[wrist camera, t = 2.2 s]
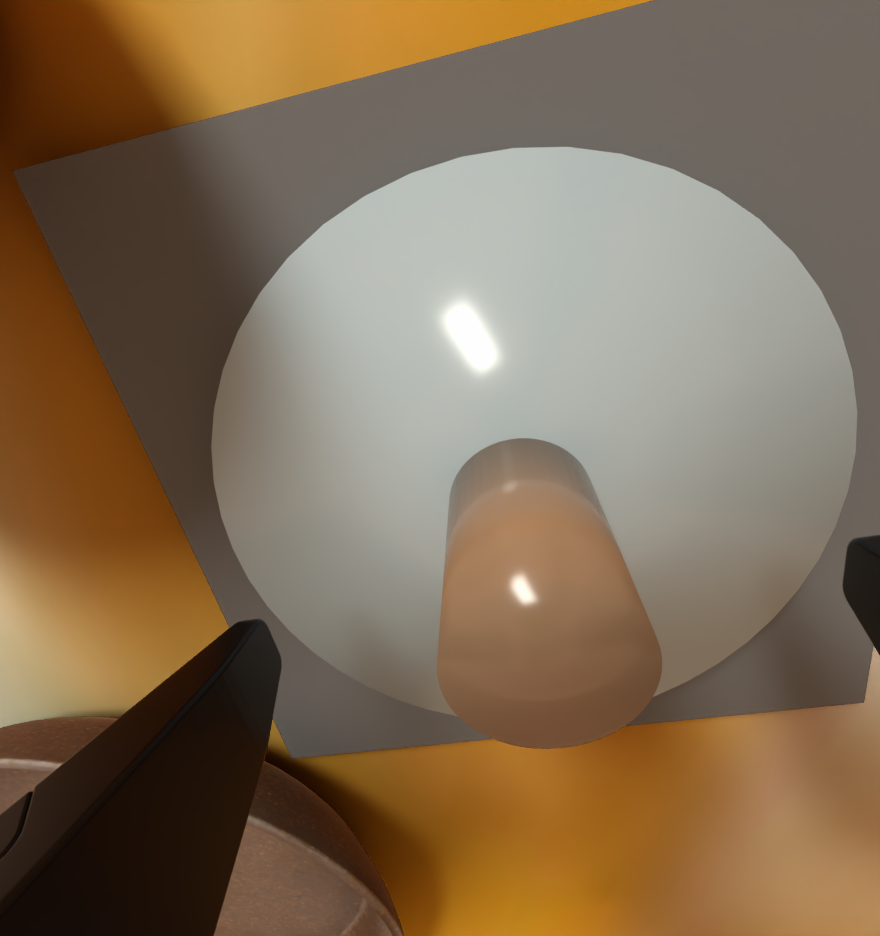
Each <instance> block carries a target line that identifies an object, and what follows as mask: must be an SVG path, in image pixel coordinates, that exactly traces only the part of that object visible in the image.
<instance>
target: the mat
mask: <svg viewBox="0 0 880 936" xmlns="http://www.w3.org/2000/svg"><path fill="white" fill-rule="evenodd" d="M534 147H574V148H581V149H589V150H596V151H604V152H611V153H619V154H624V155H627V156H631V157H634V158H637V159H641V160H644V161H648V162H651V163H654V164H658V165H661V166H665V167H668V168H671V169H674V170H676V171H678V172H680V173H682V174H684V175H687V176H689V177H691V178H693V179H695V180H697V181H699V182H701V183H703V184H705V185H708V186H710V187H712V188H714V189H716V190H718V191H720V192H721V193H723V194H724V195H725V196H727V197H728V198H730V199H731V200H733V201H734V202H736V203H737V204H738V205H740V206H741V207H743V208H744V209H746V210H747V211H748V212H750V213H751V214H753V215H754V216H756V217H757V218H759V219H760V220H761V221H762V222H763V223H764V224H765V225H766V226H767V227H768V228H769V229H770V230H771V231H772V232H773V233H774V234H775V235H776V236H777V237H778V238H779V239H780V240H781V241H782V242H783V243H784V244H785V245H786V246H788V247H789V248H790V249H791V250H792V251H793V252H794V254H795V255H796V256H797V258H798V259H799V261H800V262H801V263H802V265H803V266H804V267H805V269H806V270H807V272H808V273H809V274H810V276H811V277H812V278H813V280H814V281H815V283H816V284H817V285H818V287H819V288H820V290H821V291H822V293H823V295H824V297H825V299H826V302H827V304H828V306H829V308H830V310H831V312H832V314H833V316H834V318H835V320H836V322H837V324H838V326H839V328H840V330H841V334H842V337H843V341H844V344H845V347H846V351H847V354H848V358H849V361H850V364H851V368H852V372H853V380H854V388H855V397H856V405H857V433H856V453H855V458H854V463H853V469H852V474H851V479H850V484H849V489H848V493H847V495H846V498H845V501H844V504H843V507H842V510H841V513H840V515H839V518H838V521H837V524H836V527H835V529H834V531H833V533H832V535H831V537H830V539H829V541H828V542H827V544H826V546H825V548H824V550H823V552H822V554H821V556H820V558H819V560H818V562H817V563H816V565H815V566H814V567H813V569H812V570H811V572H810V573H809V575H808V576H807V578H806V579H805V581H804V582H803V584H802V585H801V587H800V588H799V589H798V591H797V592H796V593H795V594H794V595H793V597H792V598H791V599H790V600H789V601H788V602H787V603H786V605H785V606H784V607H783V608H782V609H781V610H780V611H779V613H778V614H777V615H776V616H775V617H774V618H773V619H772V620H771V621H770V622H769V623H768V624H767V625H766V626H765V627H763V628H762V629H761V630H760V631H759V632H758V633H757V634H756V635H755V636H754V637H752V638H751V639H750V640H749V641H748V642H747V643H746V644H744V645H743V646H741V647H740V648H739V649H737V650H736V651H735V652H733V653H732V654H731V655H729V656H728V657H726V658H725V659H724V660H722V661H721V662H720V663H718V664H717V665H715V666H713V667H711V668H710V669H708V670H706V671H705V672H703V673H701V674H699V675H698V676H696V677H694V678H693V679H691V680H689V681H687V682H685V683H683V684H681V685H679V686H676V687H674V688H672V689H670V690H668V691H665V692H663V693H661V694H659V695H657V696H654V697H652V699H651V701H650V702H649V703H648V705H647V706H646V707H645V708H644V710H643V711H642V712H641V713H640V714H639V715H638V716H637V717H635V718H634V719H633V720H632V721H631V722H629V723H628V724H627V725H625V726H630V725H640V724H650V723H660V722H671V721H681V720H691V719H701V718H711V717H722V716H732V715H742V714H752V713H762V712H773V711H783V710H793V709H803V708H813V707H824V706H834V705H844V704H854V703H864V699H865V693H866V687H867V681H868V675H869V669H870V663H871V657H872V651H873V643H872V642H871V640H870V638H869V637H868V635H867V633H866V632H865V630H864V629H863V627H862V625H861V624H860V622H859V620H858V619H857V617H856V615H855V614H854V612H853V610H852V609H851V607H850V605H849V604H848V602H847V600H846V598H845V595H844V592H843V586H842V582H843V574H844V566H845V558H846V551H847V546H848V544H849V542H850V541H851V540H852V539H854V538H858V537H865V536H873V535H880V0H653V1H650V2H646V3H642V4H638V5H634V6H631V7H627V8H623V9H619V10H616V11H612V12H608V13H604V14H601V15H597V16H593V17H589V18H585V19H582V20H578V21H574V22H570V23H567V24H563V25H559V26H555V27H552V28H548V29H544V30H540V31H537V32H533V33H529V34H525V35H521V36H518V37H514V38H510V39H506V40H503V41H499V42H495V43H491V44H488V45H484V46H480V47H476V48H472V49H469V50H465V51H461V52H457V53H454V54H450V55H446V56H442V57H439V58H435V59H431V60H427V61H424V62H420V63H416V64H412V65H408V66H405V67H401V68H397V69H393V70H390V71H386V72H382V73H378V74H375V75H371V76H367V77H363V78H359V79H356V80H352V81H348V82H344V83H341V84H337V85H333V86H329V87H326V88H322V89H318V90H314V91H311V92H307V93H303V94H299V95H295V96H292V97H288V98H284V99H280V100H277V101H273V102H269V103H265V104H262V105H258V106H254V107H250V108H246V109H243V110H239V111H235V112H231V113H228V114H224V115H220V116H216V117H213V118H209V119H205V120H201V121H198V122H194V123H190V124H186V125H182V126H179V127H175V128H171V129H167V130H164V131H160V132H156V133H152V134H149V135H145V136H141V137H137V138H134V139H130V140H126V141H122V142H118V143H115V144H111V145H107V146H103V147H100V148H96V149H92V150H88V151H85V152H81V153H77V154H73V155H69V156H66V157H62V158H58V159H54V160H51V161H47V162H43V163H39V164H36V165H32V166H28V167H24V168H21V169H17V170H13V171H12V172H13V174H14V176H15V178H16V180H17V182H18V184H19V186H20V189H21V191H22V193H23V195H24V197H25V199H26V201H27V203H28V205H29V207H30V210H31V212H32V214H33V216H34V218H35V220H36V222H37V224H38V226H39V228H40V231H41V233H42V235H43V237H44V239H45V241H46V243H47V245H48V247H49V249H50V252H51V254H52V256H53V258H54V260H55V262H56V264H57V266H58V268H59V270H60V273H61V275H62V277H63V279H64V281H65V283H66V285H67V287H68V289H69V291H70V294H71V296H72V298H73V300H74V302H75V304H76V306H77V308H78V310H79V312H80V315H81V317H82V319H83V321H84V323H85V325H86V327H87V329H88V331H89V333H90V336H91V338H92V340H93V342H94V344H95V346H96V348H97V350H98V352H99V354H100V356H101V359H102V361H103V363H104V365H105V367H106V369H107V371H108V373H109V375H110V377H111V380H112V382H113V384H114V386H115V388H116V390H117V392H118V394H119V396H120V398H121V401H122V403H123V405H124V407H125V409H126V411H127V413H128V415H129V417H130V419H131V422H132V424H133V426H134V428H135V430H136V432H137V434H138V436H139V438H140V440H141V443H142V445H143V447H144V449H145V451H146V453H147V455H148V457H149V459H150V461H151V464H152V466H153V468H154V470H155V472H156V474H157V476H158V478H159V480H160V482H161V485H162V487H163V489H164V491H165V493H166V495H167V497H168V499H169V501H170V503H171V506H172V508H173V510H174V512H175V514H176V516H177V518H178V520H179V522H180V524H181V527H182V529H183V531H184V533H185V535H186V537H187V539H188V541H189V543H190V545H191V548H192V550H193V552H194V554H195V556H196V558H197V560H198V562H199V564H200V566H201V569H202V571H203V573H204V575H205V577H206V579H207V581H208V583H209V585H210V587H211V590H212V592H213V594H214V596H215V598H216V600H217V602H218V604H219V606H220V608H221V611H222V613H223V615H224V617H225V619H226V621H227V623H228V625H229V627H232V626H233V625H234V624H235V623H237V622H239V621H243V620H250V619H258V618H259V619H262V620H264V621H265V622H266V623H267V625H268V627H269V630H270V632H271V634H272V636H273V639H274V641H275V643H276V646H277V648H278V650H279V652H280V655H281V661H282V669H281V675H280V680H279V686H278V691H277V697H276V702H275V708H274V714H273V720H274V722H275V724H276V726H277V728H278V730H279V732H280V734H281V737H282V739H283V741H284V743H285V745H286V747H287V749H288V751H289V753H290V755H291V758H292V759H293V758H304V757H314V756H324V755H334V754H344V753H355V752H365V751H375V750H385V749H395V748H406V747H416V746H426V745H436V744H446V743H457V742H467V741H477V740H487V739H492V738H490V737H488V736H485V735H483V734H482V733H480V732H478V731H476V730H475V729H473V728H472V727H470V726H469V725H467V724H466V723H465V722H463V721H462V720H461V719H460V718H459V717H458V716H454V715H450V714H445V713H441V712H436V711H432V710H427V709H424V708H421V707H418V706H415V705H412V704H409V703H406V702H403V701H400V700H397V699H394V698H392V697H390V696H388V695H385V694H383V693H381V692H378V691H376V690H374V689H371V688H369V687H367V686H365V685H364V684H362V683H360V682H358V681H356V680H355V679H353V678H351V677H349V676H348V675H346V674H344V673H342V672H340V671H339V670H337V669H336V668H335V667H333V666H332V665H330V664H329V663H328V662H326V661H325V660H323V659H322V658H321V657H319V656H318V655H316V654H315V653H314V652H312V651H311V650H310V649H309V648H308V647H307V646H306V645H305V644H303V643H302V642H301V641H300V640H299V639H298V638H297V637H296V636H294V635H293V634H292V633H291V632H290V631H289V630H288V629H287V628H286V627H285V626H284V624H283V623H282V622H281V621H280V620H279V619H278V618H277V617H276V615H275V614H274V613H273V612H272V611H271V610H270V609H269V608H268V606H267V605H266V604H265V602H264V601H263V599H262V598H261V596H260V595H259V594H258V592H257V591H256V589H255V588H254V586H253V585H252V583H251V582H250V581H249V579H248V577H247V575H246V573H245V571H244V570H243V568H242V566H241V564H240V562H239V560H238V558H237V556H236V554H235V552H234V550H233V548H232V545H231V543H230V540H229V537H228V534H227V532H226V529H225V526H224V523H223V521H222V518H221V514H220V509H219V504H218V500H217V495H216V490H215V486H214V478H213V464H212V450H211V443H212V430H213V416H214V407H215V402H216V398H217V393H218V389H219V385H220V380H221V376H222V371H223V368H224V366H225V363H226V360H227V358H228V355H229V353H230V350H231V348H232V345H233V342H234V340H235V337H236V335H237V332H238V330H239V328H240V327H241V325H242V323H243V321H244V320H245V318H246V316H247V314H248V313H249V311H250V309H251V307H252V306H253V304H254V302H255V301H256V299H257V297H258V295H259V294H260V292H261V291H262V290H263V288H264V287H265V286H266V285H267V283H268V282H269V281H270V280H271V278H272V277H273V276H274V275H275V273H276V272H277V271H278V270H279V268H280V267H281V266H282V264H283V263H284V262H285V261H286V259H287V258H288V257H289V256H290V255H291V254H292V253H293V252H294V251H296V250H297V249H298V248H299V247H300V246H301V245H302V244H303V243H304V242H305V241H306V240H307V239H308V238H309V237H310V236H312V235H313V234H314V233H315V232H316V231H317V230H318V229H319V228H320V227H321V226H322V225H323V224H325V223H326V222H328V221H329V220H331V219H332V218H333V217H335V216H336V215H338V214H339V213H341V212H342V211H344V210H345V209H346V208H348V207H349V206H351V205H352V204H354V203H355V202H357V201H358V200H359V199H361V198H362V197H364V196H366V195H368V194H370V193H372V192H374V191H376V190H378V189H380V188H382V187H384V186H386V185H388V184H390V183H392V182H394V181H396V180H398V179H400V178H402V177H404V176H406V175H408V174H410V173H413V172H416V171H419V170H422V169H425V168H428V167H431V166H434V165H438V164H441V163H444V162H447V161H450V160H453V159H456V158H459V157H463V156H469V155H475V154H481V153H487V152H493V151H499V150H505V149H511V148H534Z"/></svg>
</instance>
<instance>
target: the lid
mask: <svg viewBox="0 0 880 936" xmlns="http://www.w3.org/2000/svg"><path fill="white" fill-rule="evenodd" d="M856 433H857V405H856V397H855V388H854V380H853V372H852V368H851V364H850V361H849V358H848V354H847V351H846V347H845V344H844V341H843V337H842V334H841V330H840V328H839V326H838V324H837V322H836V320H835V318H834V316H833V314H832V312H831V310H830V308H829V306H828V304H827V302H826V299H825V297H824V295H823V293H822V291H821V290H820V288H819V287H818V285H817V284H816V283H815V281H814V280H813V278H812V277H811V276H810V274H809V273H808V272H807V270H806V269H805V267H804V266H803V265H802V263H801V262H800V261H799V259H798V258H797V256H796V255H795V254H794V252H793V251H792V250H791V249H790V248H789V247H788V246H786V245H785V244H784V243H783V242H782V241H781V240H780V239H779V238H778V237H777V236H776V235H775V234H774V233H773V232H772V231H771V230H770V229H769V228H768V227H767V226H766V225H765V224H764V223H763V222H762V221H761V220H760V219H759V218H757V217H756V216H754V215H753V214H751V213H750V212H748V211H747V210H746V209H744V208H743V207H741V206H740V205H738V204H737V203H736V202H734V201H733V200H731V199H730V198H728V197H727V196H725V195H724V194H723V193H721V192H720V191H718V190H716V189H714V188H712V187H710V186H708V185H705V184H703V183H701V182H699V181H697V180H695V179H693V178H691V177H689V176H687V175H684V174H682V173H680V172H678V171H676V170H674V169H671V168H668V167H665V166H661V165H658V164H654V163H651V162H648V161H644V160H641V159H637V158H634V157H631V156H627V155H624V154H619V153H611V152H604V151H596V150H589V149H581V148H574V147H534V148H511V149H505V150H499V151H493V152H487V153H481V154H475V155H469V156H463V157H459V158H456V159H453V160H450V161H447V162H444V163H441V164H438V165H434V166H431V167H428V168H425V169H422V170H419V171H416V172H413V173H410V174H408V175H406V176H404V177H402V178H400V179H398V180H396V181H394V182H392V183H390V184H388V185H386V186H384V187H382V188H380V189H378V190H376V191H374V192H372V193H370V194H368V195H366V196H364V197H362V198H361V199H359V200H358V201H357V202H355V203H354V204H352V205H351V206H349V207H348V208H346V209H345V210H344V211H342V212H341V213H339V214H338V215H336V216H335V217H333V218H332V219H331V220H329V221H328V222H326V223H325V224H323V225H322V226H321V227H320V228H319V229H318V230H317V231H316V232H315V233H314V234H313V235H312V236H310V237H309V238H308V239H307V240H306V241H305V242H304V243H303V244H302V245H301V246H300V247H299V248H298V249H297V250H296V251H294V252H293V253H292V254H291V255H290V256H289V257H288V258H287V259H286V261H285V262H284V263H283V264H282V266H281V267H280V268H279V270H278V271H277V272H276V273H275V275H274V276H273V277H272V278H271V280H270V281H269V282H268V283H267V285H266V286H265V287H264V288H263V290H262V291H261V292H260V294H259V295H258V297H257V299H256V301H255V302H254V304H253V306H252V307H251V309H250V311H249V313H248V314H247V316H246V318H245V320H244V321H243V323H242V325H241V327H240V328H239V330H238V332H237V335H236V337H235V340H234V342H233V345H232V348H231V350H230V353H229V355H228V358H227V360H226V363H225V366H224V368H223V371H222V376H221V380H220V385H219V389H218V393H217V398H216V402H215V407H214V416H213V430H212V443H211V450H212V464H213V478H214V486H215V490H216V495H217V500H218V504H219V509H220V514H221V518H222V521H223V523H224V526H225V529H226V532H227V534H228V537H229V540H230V543H231V545H232V548H233V550H234V552H235V554H236V556H237V558H238V560H239V562H240V564H241V566H242V568H243V570H244V571H245V573H246V575H247V577H248V579H249V581H250V582H251V583H252V585H253V586H254V588H255V589H256V591H257V592H258V594H259V595H260V596H261V598H262V599H263V601H264V602H265V604H266V605H267V606H268V608H269V609H270V610H271V611H272V612H273V613H274V614H275V615H276V617H277V618H278V619H279V620H280V621H281V622H282V623H283V624H284V626H285V627H286V628H287V629H288V630H289V631H290V632H291V633H292V634H293V635H294V636H296V637H297V638H298V639H299V640H300V641H301V642H302V643H303V644H305V645H306V646H307V647H308V648H309V649H310V650H311V651H312V652H314V653H315V654H316V655H318V656H319V657H321V658H322V659H323V660H325V661H326V662H328V663H329V664H330V665H332V666H333V667H335V668H336V669H337V670H339V671H340V672H342V673H344V674H346V675H348V676H349V677H351V678H353V679H355V680H356V681H358V682H360V683H362V684H364V685H365V686H367V687H369V688H371V689H374V690H376V691H378V692H381V693H383V694H385V695H388V696H390V697H392V698H394V699H397V700H400V701H403V702H406V703H409V704H412V705H415V706H418V707H421V708H424V709H427V710H432V711H436V712H441V713H445V714H450V715H454V716H458V717H459V718H460V719H461V720H462V721H463V722H465V723H466V724H467V725H469V726H470V727H472V728H473V729H475V730H476V731H478V732H480V733H482V734H483V735H485V736H488V737H490V738H492V739H495V740H497V741H500V742H504V743H507V744H511V745H515V746H520V747H527V748H539V749H553V748H565V747H572V746H577V745H581V744H586V743H589V742H592V741H595V740H598V739H601V738H603V737H605V736H608V735H610V734H612V733H614V732H615V731H617V730H619V729H621V728H622V727H624V726H625V725H627V724H628V723H629V722H631V721H632V720H633V719H634V718H635V717H637V716H638V715H639V714H640V713H641V712H642V711H643V710H644V708H645V707H646V706H647V705H648V703H649V702H650V701H651V699H652V697H654V696H657V695H659V694H661V693H663V692H665V691H668V690H670V689H672V688H674V687H676V686H679V685H681V684H683V683H685V682H687V681H689V680H691V679H693V678H694V677H696V676H698V675H699V674H701V673H703V672H705V671H706V670H708V669H710V668H711V667H713V666H715V665H717V664H718V663H720V662H721V661H722V660H724V659H725V658H726V657H728V656H729V655H731V654H732V653H733V652H735V651H736V650H737V649H739V648H740V647H741V646H743V645H744V644H746V643H747V642H748V641H749V640H750V639H751V638H752V637H754V636H755V635H756V634H757V633H758V632H759V631H760V630H761V629H762V628H763V627H765V626H766V625H767V624H768V623H769V622H770V621H771V620H772V619H773V618H774V617H775V616H776V615H777V614H778V613H779V611H780V610H781V609H782V608H783V607H784V606H785V605H786V603H787V602H788V601H789V600H790V599H791V598H792V597H793V595H794V594H795V593H796V592H797V591H798V589H799V588H800V587H801V585H802V584H803V582H804V581H805V579H806V578H807V576H808V575H809V573H810V572H811V570H812V569H813V567H814V566H815V565H816V563H817V562H818V560H819V558H820V556H821V554H822V552H823V550H824V548H825V546H826V544H827V542H828V541H829V539H830V537H831V535H832V533H833V531H834V529H835V527H836V524H837V521H838V518H839V515H840V513H841V510H842V507H843V504H844V501H845V498H846V495H847V493H848V489H849V484H850V479H851V474H852V469H853V463H854V458H855V453H856Z"/></svg>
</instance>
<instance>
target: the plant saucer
mask: <svg viewBox="0 0 880 936" xmlns="http://www.w3.org/2000/svg"><path fill="white" fill-rule="evenodd" d="M117 719H118V718H106V717H63V718H52V719H44V720H36V721H29V722H24V723H19V724H14V725H10V726H6V727H3V728H0V814H1V813H3V812H4V811H5V810H6V809H8V808H9V807H10V806H11V805H12V804H14V803H15V802H16V801H17V800H18V799H20V798H21V797H22V796H23V795H25V794H26V793H27V792H29V791H33V790H34V787H35V786H36V785H37V784H38V783H40V782H41V781H42V780H43V779H45V778H46V777H47V776H48V775H49V774H51V773H52V772H53V771H54V770H56V769H57V768H58V767H59V766H60V765H62V764H63V763H64V762H65V761H67V760H68V759H69V758H70V757H72V756H73V755H74V754H75V753H76V752H78V751H79V750H80V749H81V748H83V747H84V746H85V745H86V744H88V743H89V742H90V741H91V740H92V739H94V738H95V737H96V736H97V735H99V734H100V733H101V732H102V731H104V730H105V729H106V728H107V727H108V726H110V725H111V724H112V723H113V722H115V721H116V720H117ZM214 936H404V934H403V930H402V927H401V924H400V921H399V918H398V916H397V913H396V910H395V907H394V905H393V902H392V900H391V897H390V895H389V893H388V891H387V889H386V886H385V884H384V882H383V880H382V878H381V877H380V875H379V873H378V871H377V869H376V868H375V866H374V864H373V863H372V861H371V860H370V858H369V856H368V855H367V853H366V852H365V850H364V849H363V847H362V846H361V844H360V843H359V841H358V839H357V838H356V837H355V835H354V834H353V832H352V831H351V829H350V828H349V827H348V826H347V824H346V823H345V822H344V821H343V820H342V818H341V817H340V816H339V815H338V814H337V813H336V812H335V811H334V810H333V809H332V808H331V807H330V806H329V805H328V804H327V803H325V802H324V801H323V800H322V799H321V798H320V797H319V796H317V795H316V794H315V793H314V792H313V791H311V790H310V789H309V788H307V787H306V786H305V785H304V784H302V783H301V782H300V781H298V780H296V779H295V778H293V777H292V776H290V775H288V774H287V773H285V772H284V771H282V770H281V769H279V768H277V767H275V766H273V765H271V764H269V763H267V762H265V761H264V764H263V767H262V771H261V775H260V778H259V782H258V785H257V789H256V792H255V796H254V799H253V802H252V806H251V809H250V813H249V816H248V820H247V823H246V827H245V830H244V834H243V837H242V840H241V844H240V847H239V851H238V854H237V858H236V861H235V865H234V868H233V872H232V875H231V878H230V882H229V885H228V889H227V892H226V896H225V899H224V903H223V906H222V909H221V913H220V916H219V920H218V923H217V927H216V930H215V934H214Z"/></svg>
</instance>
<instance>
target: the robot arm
mask: <svg viewBox="0 0 880 936" xmlns="http://www.w3.org/2000/svg"><path fill="white" fill-rule="evenodd" d="M842 586H843V592H844V595H845V598H846V600H847V602H848V604H849V605H850V607H851V609H852V610H853V612H854V614H855V615H856V617H857V619H858V620H859V622H860V624H861V625H862V627H863V629H864V630H865V632H866V633H867V635H868V637H869V638H870V640H871V642H872V643H873V645H874V647H875V648H876V650H877V652H878V653H879V655H880V535H873V536H865V537H858V538H854V539H852V540H851V541H850V542H849V544H848V546H847V551H846V558H845V566H844V574H843V582H842ZM281 669H282V661H281V655H280V652H279V650H278V648H277V646H276V643H275V641H274V639H273V636H272V634H271V632H270V630H269V627H268V625H267V623H266V622H265V621H264V620H262V619H259V618H258V619H250V620H243V621H239V622H237V623H235V624H234V625H233V626H232V627H230V628H229V629H228V630H227V631H225V632H224V633H223V634H222V635H220V636H219V637H218V638H217V639H216V640H214V641H213V642H212V643H211V644H209V645H208V646H207V647H206V648H204V649H203V650H202V651H201V652H200V653H198V654H197V655H196V656H195V657H193V658H192V659H191V660H190V661H188V662H187V663H186V664H185V665H184V666H182V667H181V668H180V669H179V670H177V671H176V672H175V673H174V674H172V675H171V676H170V677H169V678H168V679H166V680H165V681H164V682H163V683H161V684H160V685H159V686H158V687H156V688H155V689H154V690H153V691H152V692H150V693H149V694H148V695H147V696H145V697H144V698H143V699H142V700H140V701H139V702H138V703H137V704H136V705H134V706H133V707H132V708H131V709H129V710H128V711H127V712H126V713H124V714H123V715H122V716H121V717H120V718H118V719H117V720H116V721H115V722H113V723H112V724H111V725H110V726H108V727H107V728H106V729H105V730H104V731H102V732H101V733H100V734H99V735H97V736H96V737H95V738H94V739H92V740H91V741H90V742H89V743H88V744H86V745H85V746H84V747H83V748H81V749H80V750H79V751H78V752H76V753H75V754H74V755H73V756H72V757H70V758H69V759H68V760H67V761H65V762H64V763H63V764H62V765H60V766H59V767H58V768H57V769H56V770H54V771H53V772H52V773H51V774H49V775H48V776H47V777H46V778H45V779H43V780H42V781H41V782H40V783H38V784H37V785H36V786H35V787H34V790H33V791H29V792H27V793H26V794H25V795H23V796H22V797H21V798H20V799H18V800H17V801H16V802H15V803H14V804H12V805H11V806H10V807H9V808H8V809H6V810H5V811H4V812H3V813H1V814H0V936H214V934H215V930H216V927H217V923H218V920H219V916H220V913H221V909H222V906H223V903H224V899H225V896H226V892H227V889H228V885H229V882H230V878H231V875H232V872H233V868H234V865H235V861H236V858H237V854H238V851H239V847H240V844H241V840H242V837H243V834H244V830H245V827H246V823H247V820H248V816H249V813H250V809H251V806H252V802H253V799H254V796H255V792H256V789H257V785H258V782H259V778H260V775H261V771H262V767H263V764H264V760H265V756H266V751H267V746H268V741H269V736H270V730H271V725H272V719H273V714H274V708H275V702H276V697H277V691H278V686H279V680H280V675H281Z"/></svg>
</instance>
